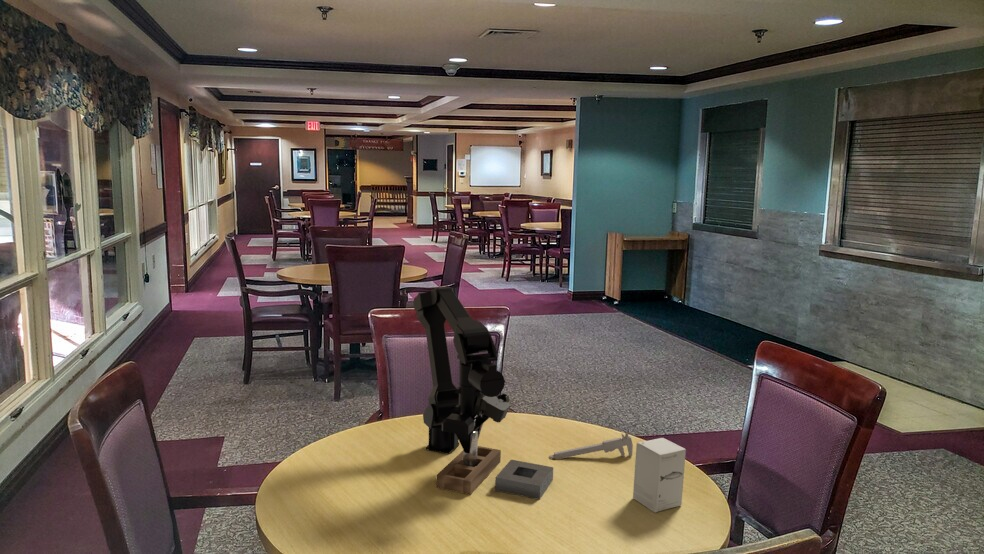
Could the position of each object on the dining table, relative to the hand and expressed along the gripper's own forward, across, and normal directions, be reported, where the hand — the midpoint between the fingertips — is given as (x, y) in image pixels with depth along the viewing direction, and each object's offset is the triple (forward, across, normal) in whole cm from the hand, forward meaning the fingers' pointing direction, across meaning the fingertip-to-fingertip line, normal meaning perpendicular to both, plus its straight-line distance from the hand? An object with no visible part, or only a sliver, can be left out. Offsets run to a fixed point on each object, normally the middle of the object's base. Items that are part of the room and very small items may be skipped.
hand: (470, 449), depth 154 cm
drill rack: (+6, 0, 0) cm, 6 cm away
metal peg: (+4, 0, 0) cm, 4 cm away
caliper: (+6, +21, -23) cm, 32 cm away
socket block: (+6, 0, -13) cm, 14 cm away
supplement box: (+6, +4, -41) cm, 42 cm away
